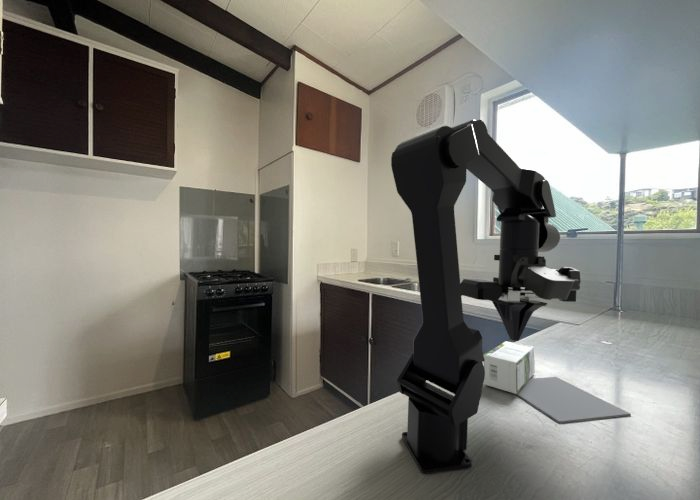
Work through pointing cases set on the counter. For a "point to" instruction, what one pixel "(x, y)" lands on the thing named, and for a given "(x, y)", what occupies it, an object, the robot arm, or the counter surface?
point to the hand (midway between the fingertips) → (514, 340)
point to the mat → (566, 401)
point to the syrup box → (509, 366)
